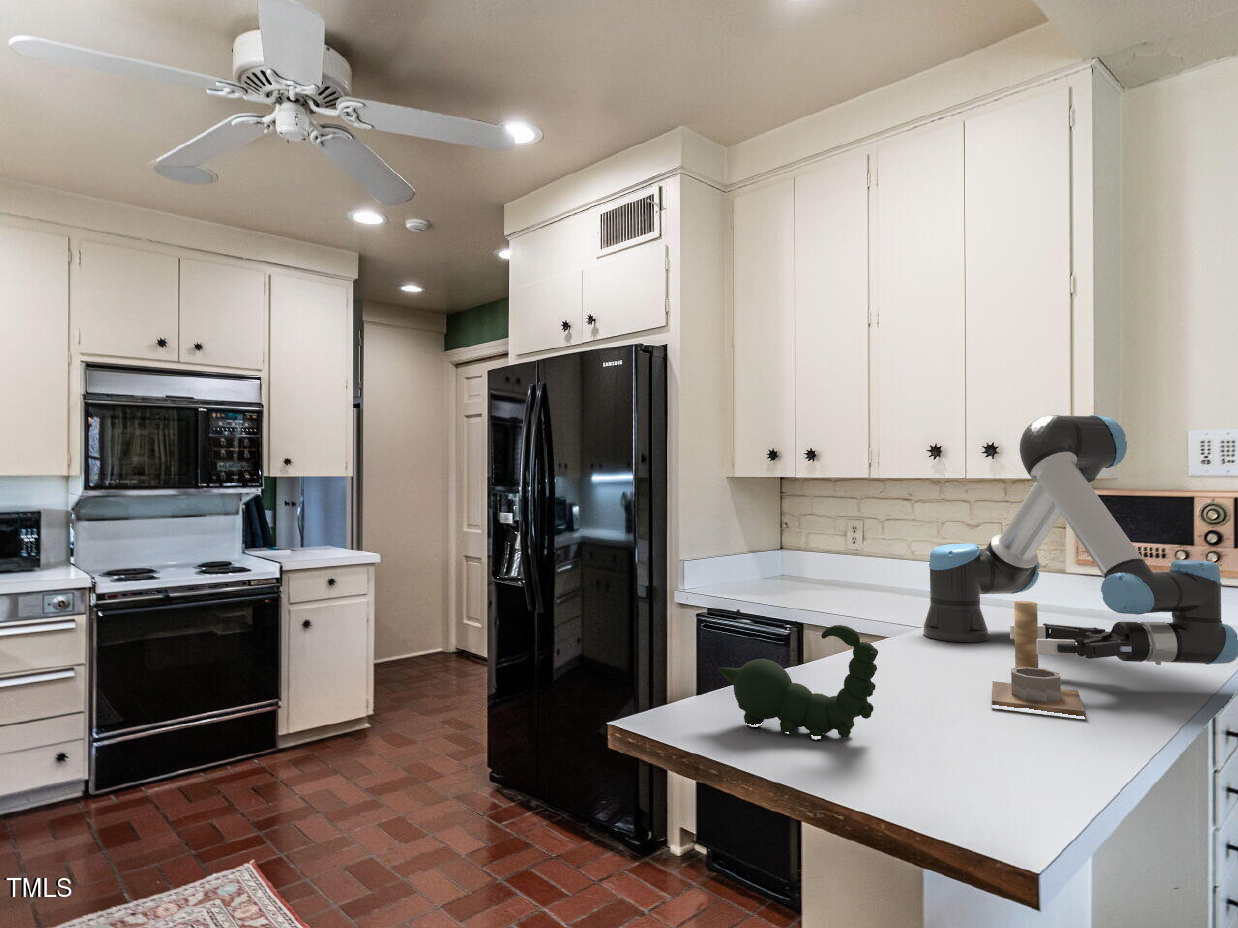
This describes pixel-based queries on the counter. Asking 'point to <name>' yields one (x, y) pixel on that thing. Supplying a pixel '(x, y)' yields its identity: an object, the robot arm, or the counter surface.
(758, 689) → the toy figurine
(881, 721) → the counter surface
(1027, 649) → the oak cylinder
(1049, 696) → the cup bracket
